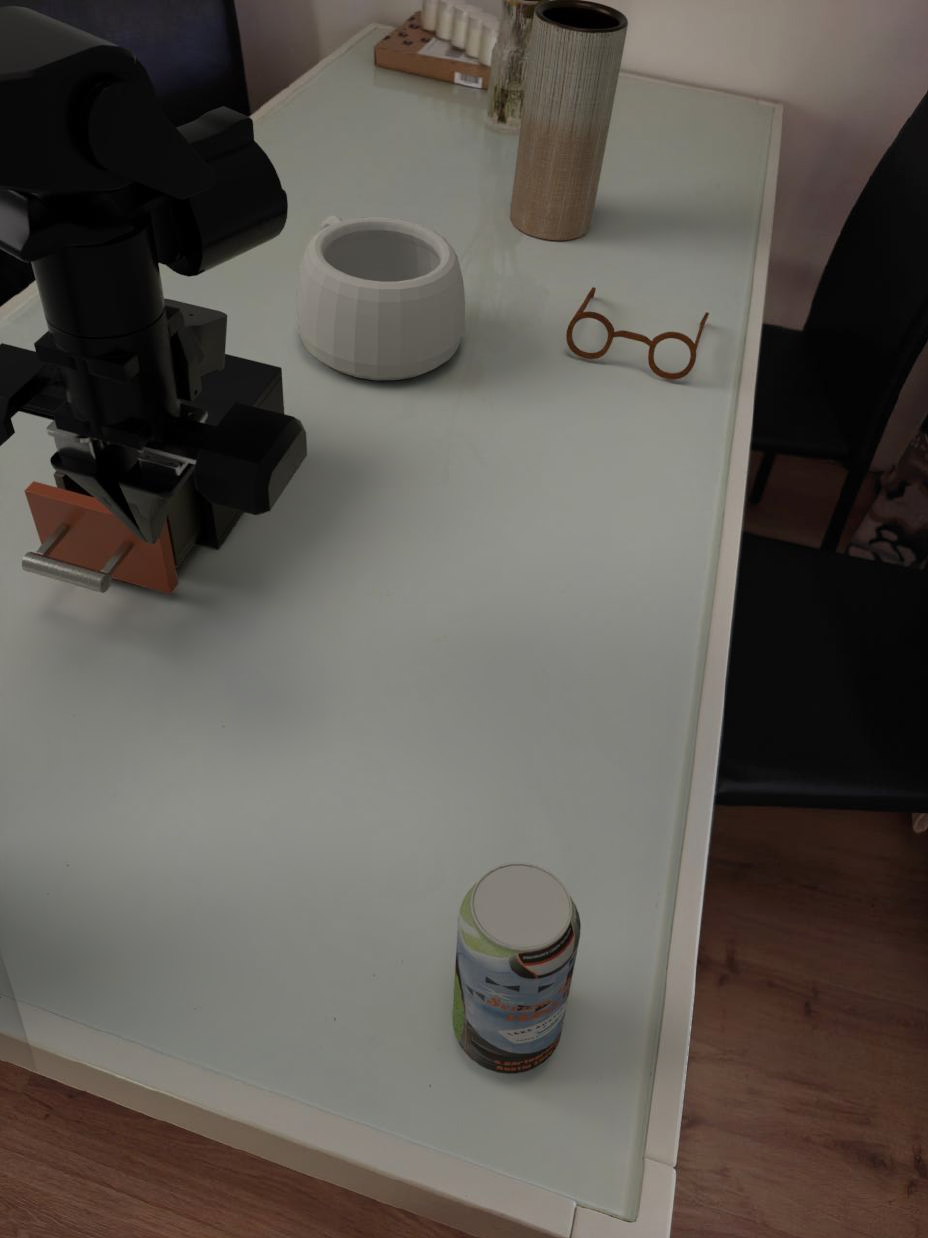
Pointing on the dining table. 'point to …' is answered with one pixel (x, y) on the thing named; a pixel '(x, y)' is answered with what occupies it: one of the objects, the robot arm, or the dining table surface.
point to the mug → (380, 298)
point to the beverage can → (514, 967)
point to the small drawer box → (217, 398)
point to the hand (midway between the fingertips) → (152, 538)
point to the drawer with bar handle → (107, 538)
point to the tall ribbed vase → (566, 116)
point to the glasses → (633, 336)
